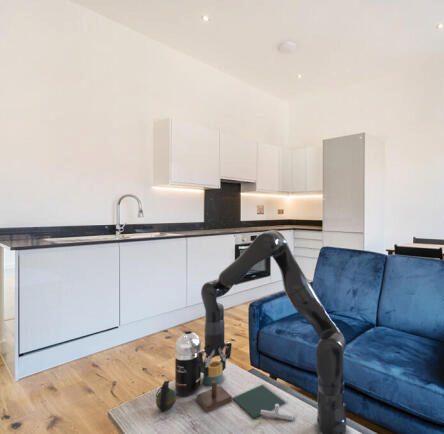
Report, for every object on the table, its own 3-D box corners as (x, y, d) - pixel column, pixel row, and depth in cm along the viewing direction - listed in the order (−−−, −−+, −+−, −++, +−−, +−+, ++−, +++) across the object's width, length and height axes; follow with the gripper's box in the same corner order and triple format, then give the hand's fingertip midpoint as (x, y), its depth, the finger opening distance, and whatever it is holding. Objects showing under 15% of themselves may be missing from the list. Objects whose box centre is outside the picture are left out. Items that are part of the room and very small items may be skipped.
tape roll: (225, 373, 121) (225, 364, 121) (210, 378, 117) (210, 369, 117) (218, 367, 125) (218, 359, 125) (204, 372, 121) (204, 364, 121)
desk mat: (284, 403, 120) (284, 402, 120) (254, 419, 111) (254, 418, 111) (262, 385, 132) (262, 384, 132) (232, 398, 123) (232, 397, 123)
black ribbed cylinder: (191, 398, 122) (192, 336, 122) (169, 395, 124) (169, 334, 124) (205, 384, 132) (206, 327, 132) (184, 381, 134) (184, 325, 134)
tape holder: (231, 401, 121) (231, 382, 121) (207, 412, 114) (207, 392, 114) (220, 390, 128) (220, 372, 128) (196, 399, 122) (196, 381, 122)
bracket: (198, 382, 134) (198, 362, 134) (214, 372, 142) (214, 353, 142) (212, 388, 130) (212, 367, 130) (228, 378, 138) (228, 358, 137)
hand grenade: (159, 403, 119) (159, 378, 119) (178, 402, 120) (178, 376, 120) (152, 417, 111) (152, 389, 111) (172, 415, 112) (172, 388, 112)
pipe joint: (260, 415, 112) (260, 403, 112) (261, 412, 114) (262, 400, 114) (291, 421, 110) (292, 409, 110) (292, 418, 111) (293, 406, 111)
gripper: (200, 338, 113) (200, 383, 114) (235, 328, 123) (235, 370, 123) (192, 332, 119) (192, 375, 119) (226, 323, 129) (226, 363, 129)
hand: (214, 372), depth 121 cm, fingers closed on tape roll, 6 cm apart
